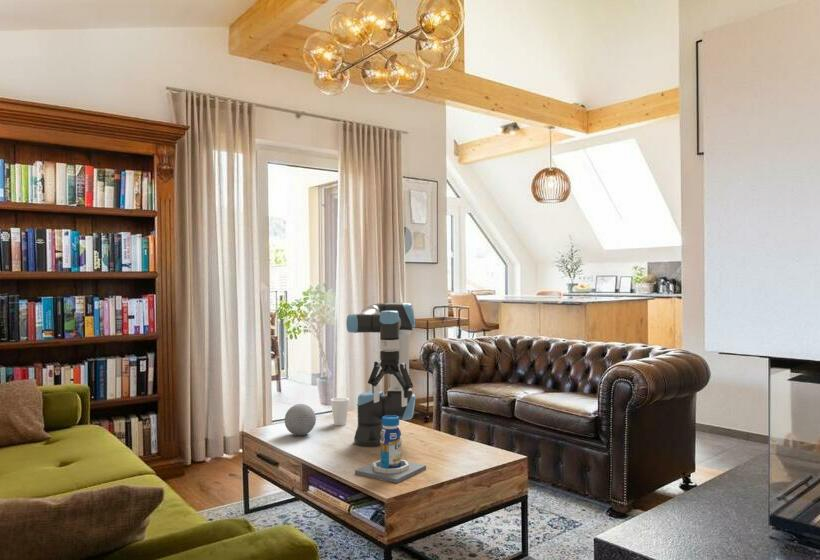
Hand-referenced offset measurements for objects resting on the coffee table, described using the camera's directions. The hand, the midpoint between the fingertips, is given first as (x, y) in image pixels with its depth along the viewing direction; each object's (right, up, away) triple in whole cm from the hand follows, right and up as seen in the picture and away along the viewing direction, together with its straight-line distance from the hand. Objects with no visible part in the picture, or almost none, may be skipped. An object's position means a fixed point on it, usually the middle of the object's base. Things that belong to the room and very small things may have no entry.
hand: (390, 404), depth 238 cm
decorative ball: (-46, -27, +57) cm, 78 cm away
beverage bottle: (0, -25, 0) cm, 25 cm away
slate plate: (0, -26, 0) cm, 26 cm away
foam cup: (-29, -27, +78) cm, 87 cm away
